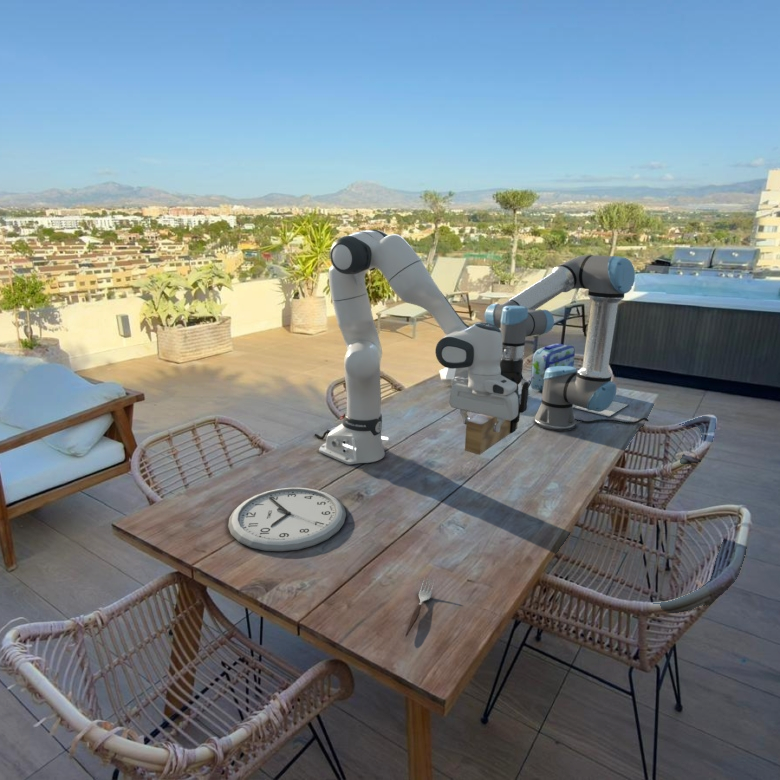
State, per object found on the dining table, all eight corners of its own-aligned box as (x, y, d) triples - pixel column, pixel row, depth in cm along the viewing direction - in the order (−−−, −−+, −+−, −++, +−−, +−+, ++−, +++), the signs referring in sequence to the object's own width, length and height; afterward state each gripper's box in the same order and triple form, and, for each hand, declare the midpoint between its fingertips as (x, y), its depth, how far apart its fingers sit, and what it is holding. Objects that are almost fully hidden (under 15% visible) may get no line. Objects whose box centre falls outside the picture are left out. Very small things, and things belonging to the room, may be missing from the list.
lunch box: (547, 395, 239) (552, 351, 233) (526, 390, 247) (530, 347, 240) (574, 384, 257) (579, 343, 251) (554, 380, 264) (558, 339, 258)
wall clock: (346, 543, 123) (215, 547, 120) (346, 549, 123) (215, 553, 121) (345, 483, 151) (239, 485, 149) (345, 488, 152) (240, 490, 149)
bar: (503, 425, 170) (505, 398, 167) (517, 428, 167) (519, 401, 164) (464, 450, 150) (466, 420, 147) (479, 455, 147) (481, 424, 144)
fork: (398, 636, 97) (399, 628, 97) (423, 584, 111) (423, 576, 111) (412, 640, 96) (412, 631, 96) (435, 587, 111) (435, 579, 110)
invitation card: (608, 416, 214) (573, 407, 224) (608, 416, 214) (573, 408, 224) (628, 404, 229) (594, 396, 238) (628, 405, 229) (594, 397, 238)
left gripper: (446, 377, 149) (444, 423, 153) (513, 390, 138) (509, 439, 142) (457, 373, 154) (455, 417, 158) (522, 385, 142) (518, 432, 147)
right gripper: (478, 355, 160) (473, 426, 167) (534, 365, 150) (526, 440, 157) (489, 351, 166) (484, 420, 173) (543, 360, 156) (536, 432, 163)
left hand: (481, 427), depth 150 cm, fingers open, 8 cm apart
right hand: (504, 429), depth 165 cm, fingers closed on bar, 5 cm apart
